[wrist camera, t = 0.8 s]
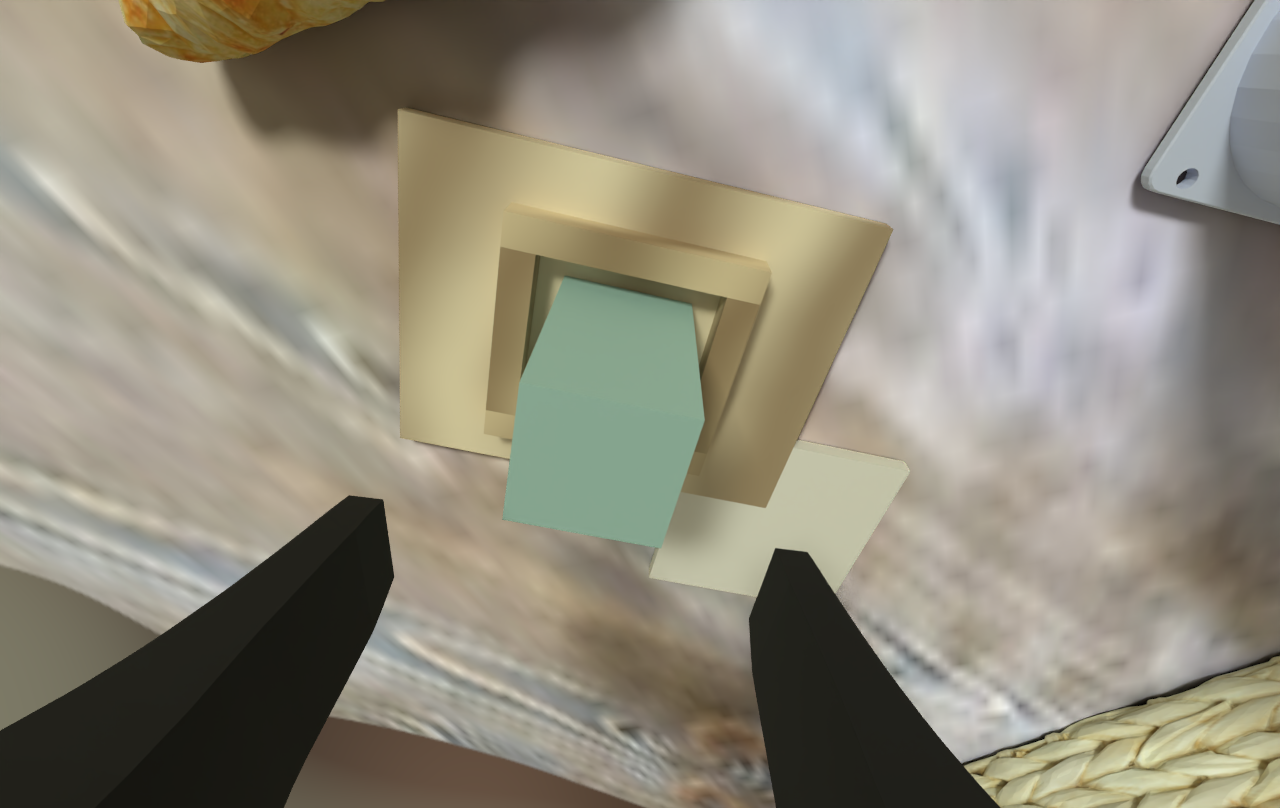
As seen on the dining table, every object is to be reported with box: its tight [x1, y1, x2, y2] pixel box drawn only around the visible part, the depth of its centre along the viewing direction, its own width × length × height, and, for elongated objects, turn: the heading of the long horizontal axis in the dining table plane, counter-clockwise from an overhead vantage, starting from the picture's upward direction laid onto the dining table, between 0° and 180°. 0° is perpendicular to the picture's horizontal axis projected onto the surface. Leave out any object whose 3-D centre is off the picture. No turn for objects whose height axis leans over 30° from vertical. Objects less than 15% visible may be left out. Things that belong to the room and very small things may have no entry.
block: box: [502, 276, 705, 548], centre depth 16 cm, size 4×4×6 cm
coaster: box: [649, 440, 910, 597], centre depth 23 cm, size 8×8×1 cm
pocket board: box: [398, 107, 893, 508], centre depth 18 cm, size 14×11×2 cm
